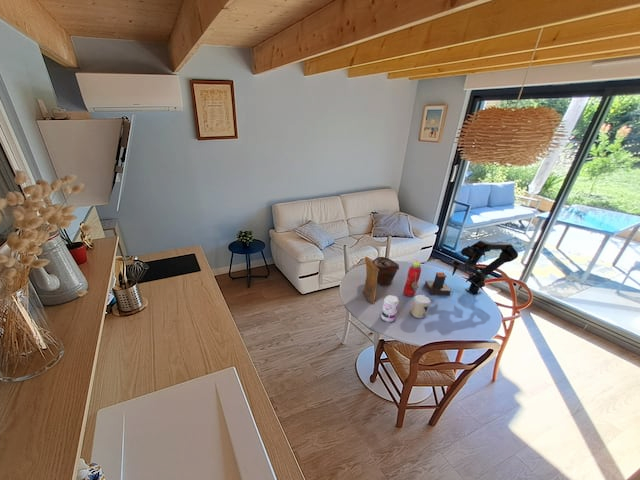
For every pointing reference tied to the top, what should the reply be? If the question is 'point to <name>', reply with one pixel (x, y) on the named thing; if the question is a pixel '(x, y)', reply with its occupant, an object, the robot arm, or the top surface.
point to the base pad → (437, 289)
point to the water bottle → (412, 279)
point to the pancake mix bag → (370, 280)
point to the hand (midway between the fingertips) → (459, 278)
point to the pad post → (439, 280)
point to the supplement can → (389, 308)
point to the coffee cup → (420, 306)
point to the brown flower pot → (385, 270)
